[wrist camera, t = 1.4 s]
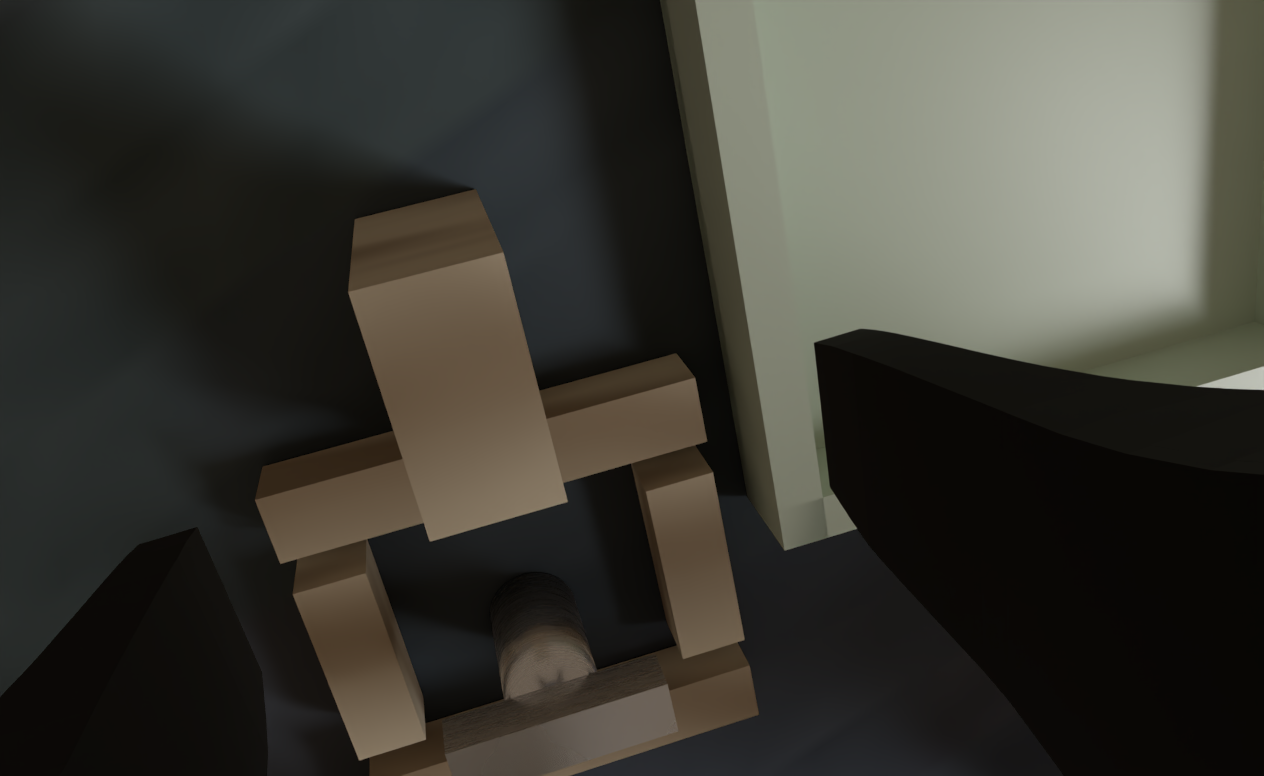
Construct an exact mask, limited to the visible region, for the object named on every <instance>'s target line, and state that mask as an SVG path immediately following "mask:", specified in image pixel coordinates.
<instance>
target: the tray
mask: <svg viewBox="0 0 1264 776" xmlns="http://www.w3.org/2000/svg"><path fill="white" fill-rule="evenodd" d="M660 4H661V9H662V15H663V21H664V26H665V32H666V38H667V43H668V49H669V55H670V61H671V66H672V72H673V78H674V83H675V89H676V95H677V100H678V106H679V112H680V117H681V123H682V129H683V135H684V140H685V146H686V152H687V157H688V163H689V169H690V174H691V180H692V186H693V191H694V197H695V203H696V209H697V214H698V220H699V226H700V231H701V237H702V243H703V248H704V254H705V260H706V265H707V271H708V277H709V282H710V288H711V294H712V300H713V305H714V311H715V317H716V322H717V328H718V334H719V339H720V345H721V351H722V356H723V362H724V368H725V374H726V379H727V385H728V391H729V396H730V402H731V408H732V413H733V419H734V425H735V430H736V436H737V442H738V448H739V453H740V459H741V465H742V470H743V476H744V482H745V487H746V493H747V497H748V499H749V500H750V502H751V503H752V504H753V506H754V507H755V509H756V510H757V512H758V513H759V515H760V516H761V517H762V519H763V520H764V522H765V523H766V525H767V526H768V528H769V529H770V530H771V532H772V533H773V535H774V536H775V538H776V539H777V540H778V542H779V543H780V545H781V546H782V548H783V549H784V551H785V550H789V549H792V548H795V547H799V546H802V545H805V544H809V543H812V542H815V541H818V540H822V539H825V538H828V537H832V536H835V535H838V534H842V533H845V532H848V531H851V530H855V529H857V528H856V526H855V525H854V523H853V522H852V521H851V519H850V517H849V516H848V514H847V513H846V511H845V510H844V508H843V507H842V505H841V504H840V502H839V500H838V499H837V497H836V496H835V494H834V493H833V491H832V490H831V488H830V485H829V475H828V466H827V457H826V448H825V439H824V430H823V421H822V412H821V403H820V394H819V385H818V376H817V367H816V358H815V349H814V342H817V341H821V340H824V339H827V338H831V337H834V336H837V335H841V334H844V333H847V332H851V331H854V330H857V329H871V330H879V331H886V332H891V333H897V334H901V335H906V336H911V337H916V338H920V339H925V340H929V341H933V342H938V343H942V344H947V345H951V346H955V347H959V348H964V349H968V350H972V351H977V352H981V353H986V354H990V355H995V356H999V357H1004V358H1008V359H1013V360H1018V361H1022V362H1027V363H1032V364H1037V365H1042V366H1047V367H1053V368H1059V369H1064V370H1070V371H1076V372H1082V373H1087V374H1093V375H1099V376H1106V377H1113V378H1120V379H1127V380H1136V381H1145V382H1155V383H1165V384H1175V385H1184V386H1195V387H1209V388H1225V389H1250V390H1264V0H660Z"/></svg>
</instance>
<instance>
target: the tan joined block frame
mask: <svg viewBox="0 0 1264 776" xmlns="http://www.w3.org/2000/svg"><path fill="white" fill-rule="evenodd" d="M348 293H349V296H350V299H351V302H352V305H353V309H354V312H355V315H356V318H357V321H358V324H359V327H360V330H361V333H362V336H363V339H364V342H365V345H366V348H367V351H368V354H369V357H370V360H371V364H372V367H373V370H374V373H375V376H376V379H377V382H378V385H379V388H380V391H381V394H382V397H383V400H384V403H385V406H386V409H387V412H388V415H389V419H390V422H391V425H392V428H393V431H391V432H387V433H383V434H380V435H376V436H372V437H369V438H365V439H362V440H358V441H354V442H351V443H347V444H343V445H340V446H336V447H332V448H329V449H325V450H321V451H318V452H314V453H311V454H307V455H303V456H300V457H296V458H292V459H289V460H285V461H281V462H278V463H274V464H270V465H267V466H263V467H262V471H261V475H260V480H259V484H258V489H257V493H256V497H255V502H256V504H257V507H258V509H259V512H260V514H261V517H262V519H263V522H264V524H265V527H266V529H267V532H268V534H269V537H270V539H271V542H272V544H273V547H274V549H275V552H276V554H277V557H278V559H279V562H280V564H282V563H285V562H289V561H292V560H296V559H297V566H296V573H295V581H294V588H293V597H294V599H295V602H296V604H297V607H298V609H299V612H300V614H301V617H302V619H303V621H304V624H305V626H306V629H307V631H308V634H309V636H310V639H311V641H312V644H313V646H314V649H315V651H316V654H317V656H318V659H319V661H320V664H321V666H322V669H323V671H324V674H325V676H326V679H327V681H328V684H329V686H330V689H331V691H332V694H333V696H334V699H335V701H336V704H337V706H338V709H339V711H340V714H341V716H342V719H343V721H344V724H345V726H346V729H347V731H348V734H349V736H350V739H351V741H352V744H353V746H354V749H355V751H356V754H357V756H358V759H359V761H360V760H363V759H366V758H369V757H370V773H369V776H452V773H451V770H450V767H449V765H448V762H447V759H446V756H445V750H444V738H443V727H442V720H443V719H446V718H449V717H453V716H456V715H459V714H462V713H466V712H469V711H472V710H475V709H478V708H482V707H485V706H488V705H491V704H494V703H498V702H501V701H504V699H502V700H499V701H496V702H493V703H490V704H486V705H483V706H480V707H477V708H473V709H470V710H467V711H464V712H461V713H457V714H454V715H451V716H448V717H444V718H441V719H438V720H435V721H432V722H428V723H425V714H424V698H423V694H422V691H421V689H420V686H419V683H418V680H417V677H416V675H415V672H414V669H413V666H412V663H411V661H410V658H409V655H408V652H407V649H406V647H405V644H404V641H403V638H402V635H401V632H400V630H399V627H398V624H397V621H396V618H395V616H394V613H393V610H392V607H391V604H390V602H389V599H388V596H387V593H386V590H385V588H384V585H383V582H382V579H381V576H380V574H379V571H378V568H377V565H376V562H375V559H374V557H373V554H372V551H371V548H370V545H369V543H368V540H367V539H369V538H373V537H376V536H380V535H383V534H387V533H390V532H394V531H397V530H401V529H404V528H408V527H411V526H415V525H418V524H422V523H424V525H425V529H426V532H427V535H428V538H429V541H430V542H431V541H434V540H438V539H441V538H445V537H448V536H451V535H455V534H458V533H462V532H465V531H469V530H472V529H476V528H479V527H483V526H486V525H489V524H493V523H496V522H500V521H503V520H507V519H510V518H514V517H517V516H521V515H524V514H528V513H531V512H534V511H538V510H541V509H545V508H548V507H552V506H555V505H559V504H562V503H566V502H568V501H567V497H566V493H565V489H564V485H563V483H565V482H568V481H572V480H575V479H579V478H582V477H586V476H589V475H593V474H596V473H600V472H603V471H606V470H610V469H613V468H617V467H620V466H624V465H627V464H631V466H632V470H633V475H634V479H635V484H636V488H637V492H638V497H639V501H640V506H641V510H642V515H643V519H644V523H645V528H646V532H647V537H648V541H649V546H650V550H651V555H652V559H653V563H654V568H655V572H656V577H657V581H658V586H659V590H660V594H661V599H662V603H663V608H664V612H665V617H666V621H667V624H668V626H669V628H670V631H671V633H672V635H673V638H674V640H675V642H676V644H677V645H676V646H673V647H670V648H666V649H663V650H660V651H657V652H654V653H650V654H647V655H644V656H641V657H637V658H634V659H631V660H628V661H625V662H621V663H618V664H615V665H612V666H608V667H605V668H602V669H599V670H597V671H601V670H604V669H607V668H610V667H613V666H617V665H620V664H623V663H626V662H629V661H633V660H636V659H639V658H642V657H646V656H649V655H652V654H656V657H657V659H658V662H659V664H660V667H661V669H662V672H663V674H664V677H665V679H666V682H667V684H668V688H669V693H670V697H671V701H672V705H673V710H674V714H675V718H676V723H677V727H678V732H675V733H672V734H669V735H666V736H663V737H659V738H656V739H653V740H650V741H647V742H644V743H641V744H638V745H635V746H631V747H628V748H625V749H622V750H619V751H616V752H613V753H610V754H607V755H603V756H600V757H597V758H594V759H591V760H588V761H585V762H582V763H579V764H576V765H572V766H569V767H566V768H563V769H560V770H557V771H554V772H551V773H548V774H544V775H541V776H570V775H573V774H577V773H580V772H583V771H586V770H589V769H592V768H595V767H598V766H601V765H604V764H607V763H611V762H614V761H617V760H620V759H623V758H626V757H629V756H632V755H635V754H638V753H642V752H645V751H648V750H651V749H654V748H657V747H660V746H663V745H666V744H669V743H672V742H676V741H679V740H682V739H685V738H688V737H691V736H694V735H697V734H700V733H703V732H707V731H710V730H713V729H716V728H719V727H722V726H725V725H728V724H731V723H734V722H738V721H741V720H744V719H747V718H750V717H753V716H756V715H759V712H758V707H757V702H756V696H755V691H754V686H753V681H752V675H751V670H750V665H749V663H748V661H747V660H746V658H745V656H744V654H743V652H742V650H741V648H740V646H739V644H738V643H737V642H740V641H743V640H745V638H744V633H743V628H742V622H741V617H740V612H739V607H738V601H737V596H736V591H735V585H734V580H733V575H732V570H731V564H730V559H729V554H728V548H727V543H726V538H725V533H724V527H723V522H722V517H721V511H720V506H719V501H718V496H717V490H716V485H715V480H714V474H713V471H712V470H711V468H710V467H709V465H708V464H707V462H706V461H705V459H704V458H703V456H702V455H701V453H700V452H699V450H698V449H697V447H696V446H695V445H697V444H701V443H704V442H707V437H706V432H705V427H704V422H703V416H702V411H701V406H700V400H699V395H698V390H697V385H696V379H695V377H694V375H693V374H692V373H691V372H690V370H689V369H688V368H687V366H686V365H685V364H684V362H683V361H682V360H681V359H680V357H679V356H678V355H677V353H675V354H671V355H668V356H664V357H660V358H657V359H653V360H650V361H646V362H642V363H639V364H635V365H631V366H628V367H624V368H620V369H617V370H613V371H609V372H606V373H602V374H599V375H595V376H591V377H588V378H584V379H580V380H577V381H573V382H569V383H566V384H562V385H558V386H555V387H551V388H547V389H544V390H540V391H539V388H538V384H537V381H536V377H535V373H534V369H533V365H532V361H531V357H530V353H529V350H528V346H527V342H526V338H525V334H524V330H523V326H522V322H521V319H520V315H519V311H518V307H517V303H516V299H515V295H514V291H513V288H512V284H511V280H510V276H509V272H508V268H507V264H506V260H505V257H504V253H503V250H502V248H501V246H500V243H499V241H498V239H497V237H496V234H495V232H494V230H493V227H492V225H491V223H490V221H489V218H488V216H487V214H486V211H485V209H484V207H483V205H482V202H481V200H480V198H479V195H478V193H477V191H476V189H474V190H470V191H466V192H462V193H458V194H454V195H450V196H446V197H442V198H438V199H434V200H430V201H426V202H422V203H418V204H414V205H410V206H406V207H402V208H398V209H394V210H390V211H385V212H381V213H377V214H373V215H369V216H365V217H361V218H357V219H355V221H354V232H353V244H352V255H351V266H350V277H349V288H348Z"/></svg>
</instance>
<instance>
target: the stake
mask: <svg viewBox="0 0 1264 776" xmlns="http://www.w3.org/2000/svg"><path fill="white" fill-rule="evenodd" d="M490 621H491V627H492V633H493V639H494V645H495V650H496V656H497V662H498V668H499V674H500V679H501V685H502V691H503V697H504V701H501V702H498V703H494V704H491V705H488V706H485V707H482V708H478V709H475V710H472V711H469V712H466V713H462V714H459V715H456V716H453V717H449V718H446V719H443V720H442V727H443V738H444V750H445V756H446V759H447V762H448V765H449V767H450V770H451V773H452V776H541V775H544V774H548V773H551V772H554V771H557V770H560V769H563V768H566V767H569V766H572V765H576V764H579V763H582V762H585V761H588V760H591V759H594V758H597V757H600V756H603V755H607V754H610V753H613V752H616V751H619V750H622V749H625V748H628V747H631V746H635V745H638V744H641V743H644V742H647V741H650V740H653V739H656V738H659V737H663V736H666V735H669V734H672V733H675V732H678V727H677V723H676V718H675V714H674V710H673V705H672V701H671V697H670V693H669V688H668V684H667V682H666V679H665V677H664V674H663V672H662V669H661V667H660V664H659V662H658V659H657V657H656V654H652V655H649V656H646V657H642V658H639V659H636V660H633V661H629V662H626V663H623V664H620V665H617V666H613V667H610V668H607V669H604V670H601V671H597V669H596V666H595V663H594V660H593V657H592V653H591V650H590V647H589V644H588V640H587V637H586V634H585V631H584V628H583V624H582V621H581V618H580V615H579V612H578V608H577V605H576V602H575V599H574V596H573V593H572V591H571V589H570V588H569V587H568V585H567V584H566V583H565V582H564V581H562V580H561V579H559V578H557V577H556V576H553V575H550V574H546V573H528V574H524V575H521V576H518V577H516V578H514V579H512V580H510V581H508V582H507V583H506V584H504V585H503V586H502V587H501V588H500V589H499V590H498V592H497V593H496V595H495V596H494V598H493V600H492V603H491V606H490Z"/></svg>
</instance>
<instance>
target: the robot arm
mask: <svg viewBox="0 0 1264 776" xmlns="http://www.w3.org/2000/svg"><path fill="white" fill-rule="evenodd" d="M814 349H815V358H816V367H817V376H818V385H819V394H820V403H821V412H822V421H823V430H824V439H825V448H826V457H827V466H828V475H829V485H830V488H831V490H832V491H833V493H834V494H835V496H836V497H837V499H838V500H839V502H840V504H841V505H842V507H843V508H844V510H845V511H846V513H847V514H848V516H849V517H850V519H851V521H852V522H853V523H854V525H855V526H856V528H857V529H858V531H859V532H860V533H861V535H862V536H863V538H864V539H865V541H866V542H867V543H868V545H869V546H870V548H871V549H872V550H873V551H874V552H875V553H876V554H877V556H878V557H879V558H880V559H881V560H882V561H883V562H884V563H885V565H886V566H887V567H888V568H889V569H890V570H891V571H892V572H893V573H894V574H895V576H896V577H897V578H898V579H899V580H900V581H901V582H902V583H903V584H904V585H905V587H906V588H907V589H908V590H909V591H910V592H911V593H912V594H913V595H914V596H915V597H916V599H917V600H918V601H919V602H920V603H921V604H922V605H923V606H924V607H925V608H926V609H927V610H928V611H929V613H930V614H931V615H932V616H933V617H934V618H935V619H936V620H937V621H938V622H939V623H940V624H941V625H942V627H943V628H944V629H945V630H946V631H947V632H948V633H949V634H950V635H951V636H952V637H953V638H954V639H955V641H956V642H957V643H958V644H959V645H960V646H961V647H962V648H963V649H964V650H965V651H966V652H967V654H968V655H969V656H970V657H971V658H972V659H973V660H974V661H975V662H976V663H977V664H978V665H979V666H980V668H981V669H982V670H983V671H984V672H985V673H986V674H987V675H988V677H989V678H990V679H991V680H992V681H993V683H994V684H995V685H996V686H997V687H998V688H999V690H1000V691H1001V692H1002V693H1003V694H1004V696H1005V697H1006V698H1007V699H1008V700H1009V702H1010V703H1011V704H1012V706H1013V707H1014V708H1015V710H1016V711H1017V712H1018V714H1019V715H1020V716H1021V718H1022V719H1023V720H1024V722H1025V723H1026V724H1027V726H1028V727H1029V729H1030V730H1031V731H1032V733H1033V734H1034V735H1035V737H1036V738H1037V739H1038V741H1039V742H1040V743H1041V745H1042V746H1043V748H1044V749H1045V750H1046V752H1047V753H1048V754H1049V756H1050V757H1051V758H1052V760H1053V761H1054V762H1055V764H1056V765H1057V767H1058V768H1059V769H1060V771H1061V772H1062V774H1063V775H1064V776H1264V390H1250V389H1225V388H1209V387H1195V386H1184V385H1175V384H1165V383H1155V382H1145V381H1136V380H1127V379H1120V378H1113V377H1106V376H1099V375H1093V374H1087V373H1082V372H1076V371H1070V370H1064V369H1059V368H1053V367H1047V366H1042V365H1037V364H1032V363H1027V362H1022V361H1018V360H1013V359H1008V358H1004V357H999V356H995V355H990V354H986V353H981V352H977V351H972V350H968V349H964V348H959V347H955V346H951V345H947V344H942V343H938V342H933V341H929V340H925V339H920V338H916V337H911V336H906V335H901V334H897V333H891V332H886V331H879V330H871V329H857V330H854V331H851V332H847V333H844V334H841V335H837V336H834V337H831V338H827V339H824V340H821V341H817V342H814ZM267 759H268V746H267V729H266V713H265V702H264V690H263V678H262V671H261V669H260V667H259V665H258V662H257V660H256V658H255V656H254V653H253V651H252V649H251V647H250V644H249V642H248V640H247V638H246V635H245V633H244V631H243V629H242V626H241V624H240V622H239V620H238V618H237V615H236V613H235V611H234V609H233V606H232V604H231V602H230V600H229V597H228V595H227V593H226V591H225V588H224V586H223V584H222V582H221V579H220V577H219V575H218V573H217V570H216V568H215V566H214V564H213V561H212V559H211V557H210V555H209V552H208V550H207V548H206V546H205V543H204V541H203V539H202V537H201V534H200V532H199V530H198V528H197V527H196V528H193V529H189V530H186V531H183V532H179V533H176V534H173V535H169V536H166V537H163V538H159V539H156V540H153V541H149V542H146V543H143V544H139V545H138V546H137V547H136V548H135V549H134V550H133V551H132V552H130V553H129V554H128V555H127V556H126V557H125V558H124V560H123V561H122V562H121V563H120V564H119V565H118V566H117V567H116V568H115V569H114V570H113V572H112V573H111V574H110V575H109V576H108V577H107V578H106V579H105V581H104V582H103V583H102V584H101V585H100V586H99V588H98V589H97V590H96V591H95V592H94V593H93V594H92V596H91V597H90V598H89V599H88V600H87V601H86V603H85V604H84V605H83V606H82V607H81V608H80V610H79V611H78V612H77V613H76V614H75V615H74V616H73V618H72V619H71V620H70V621H69V622H68V623H67V624H66V626H65V627H64V628H63V629H62V630H61V631H60V632H59V634H58V635H57V636H56V637H55V638H54V639H53V640H52V642H51V643H50V644H49V645H48V646H47V647H46V649H45V650H44V651H43V652H42V653H41V654H40V655H39V657H38V658H37V659H36V660H35V661H34V662H33V663H32V664H31V665H30V666H29V667H28V668H27V670H26V671H25V672H24V673H23V674H22V675H21V676H20V677H19V678H18V679H17V680H16V681H15V682H14V683H13V684H12V685H11V686H10V687H9V688H8V689H7V690H6V692H5V693H4V694H3V695H2V696H1V697H0V776H267Z"/></svg>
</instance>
